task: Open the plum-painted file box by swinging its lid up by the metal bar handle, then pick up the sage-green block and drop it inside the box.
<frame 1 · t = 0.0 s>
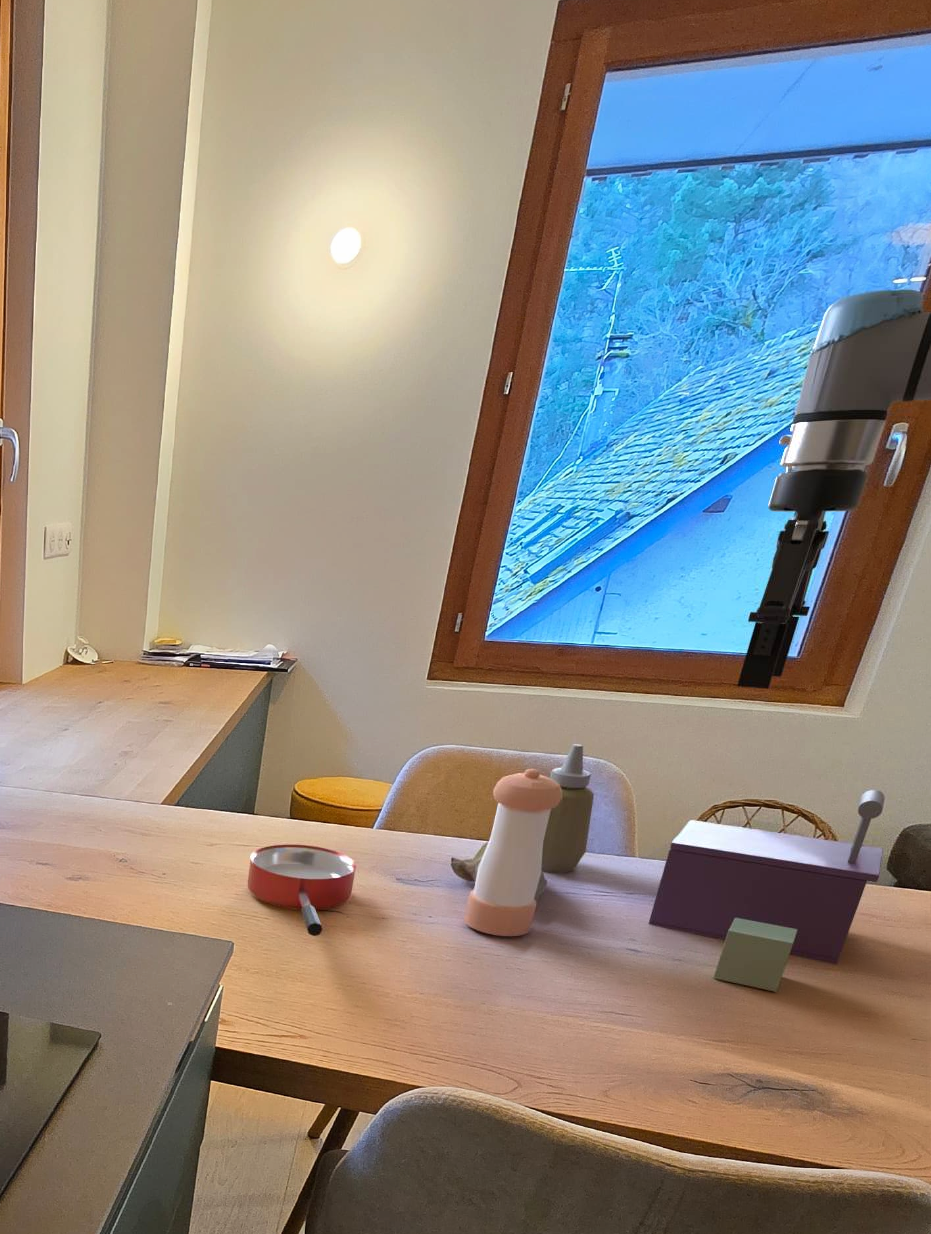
hand: (759, 681, 116), 29 cm above the table, tool pointing down, fingers open, 13 cm apart
file box: (744, 931, 126), on the table
ceramic sculpture: (498, 896, 137), on the table
frying pan: (308, 922, 129), on the table
squeeze bottle: (545, 873, 147), on the table
salt shaker: (496, 925, 127), on the table
block: (747, 977, 113), on the table
lid: (785, 819, 120), point 14 cm above the table, hinge at 0.0°
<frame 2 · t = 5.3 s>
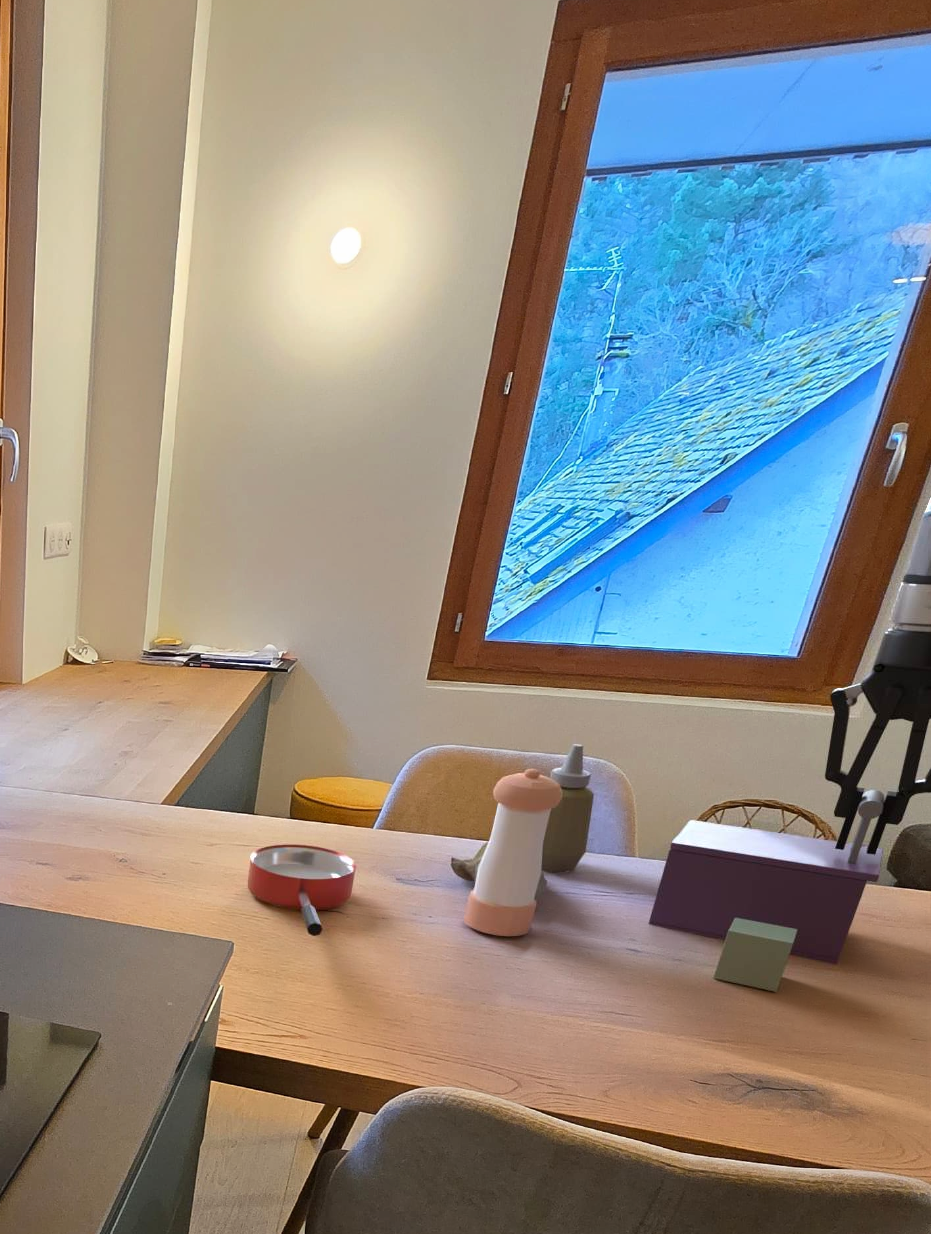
hand: (855, 848, 117), 12 cm above the table, tool pointing down, fingers closed on lid, 2 cm apart
lid: (785, 819, 120), point 14 cm above the table, hinge at 0.0°, touching gripper
everything else where it was.
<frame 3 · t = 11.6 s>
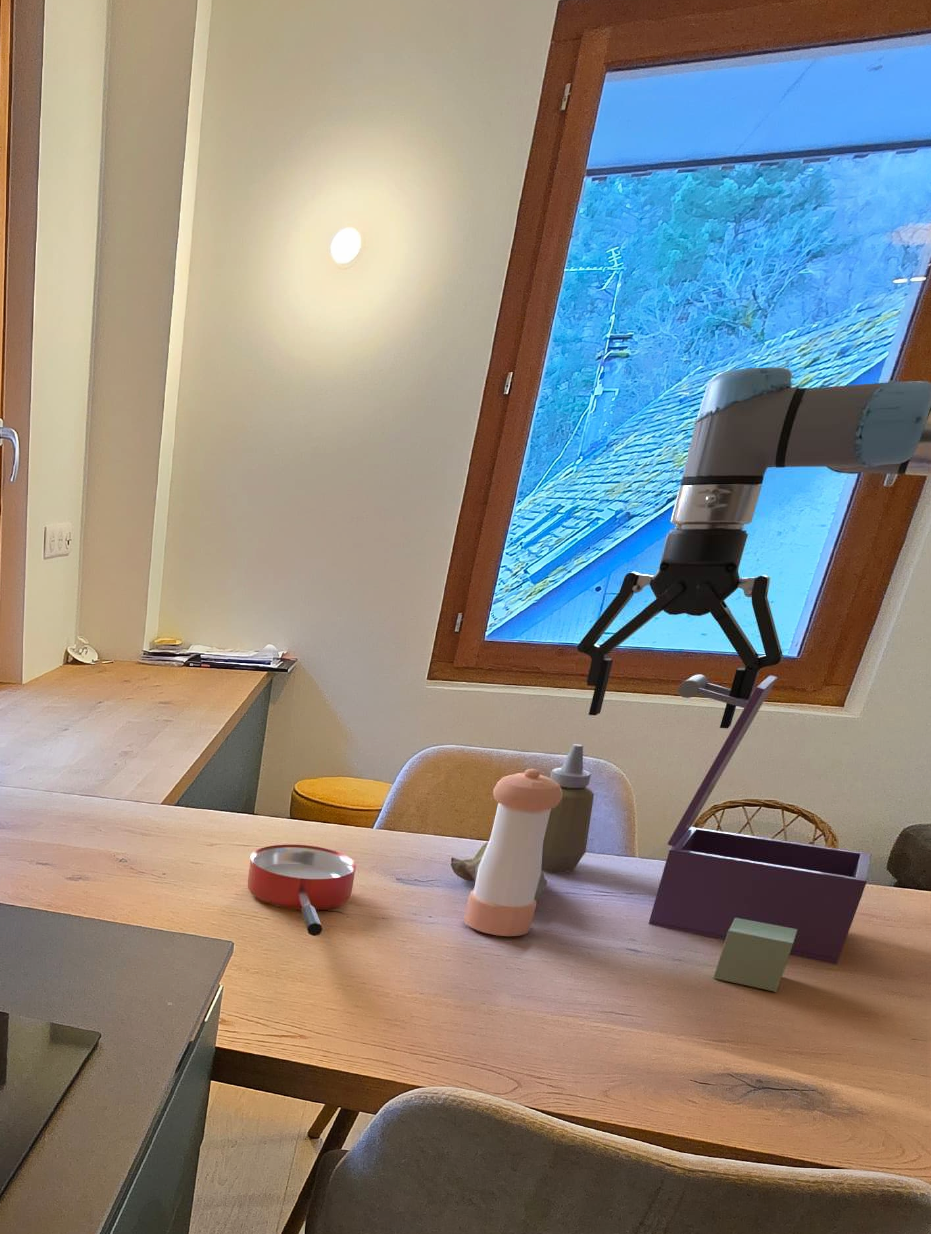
hand: (657, 720, 125), 23 cm above the table, tool pointing down, fingers open, 13 cm apart
lid: (689, 750, 124), point 20 cm above the table, hinge at 77.8°, touching gripper
everything else where it was.
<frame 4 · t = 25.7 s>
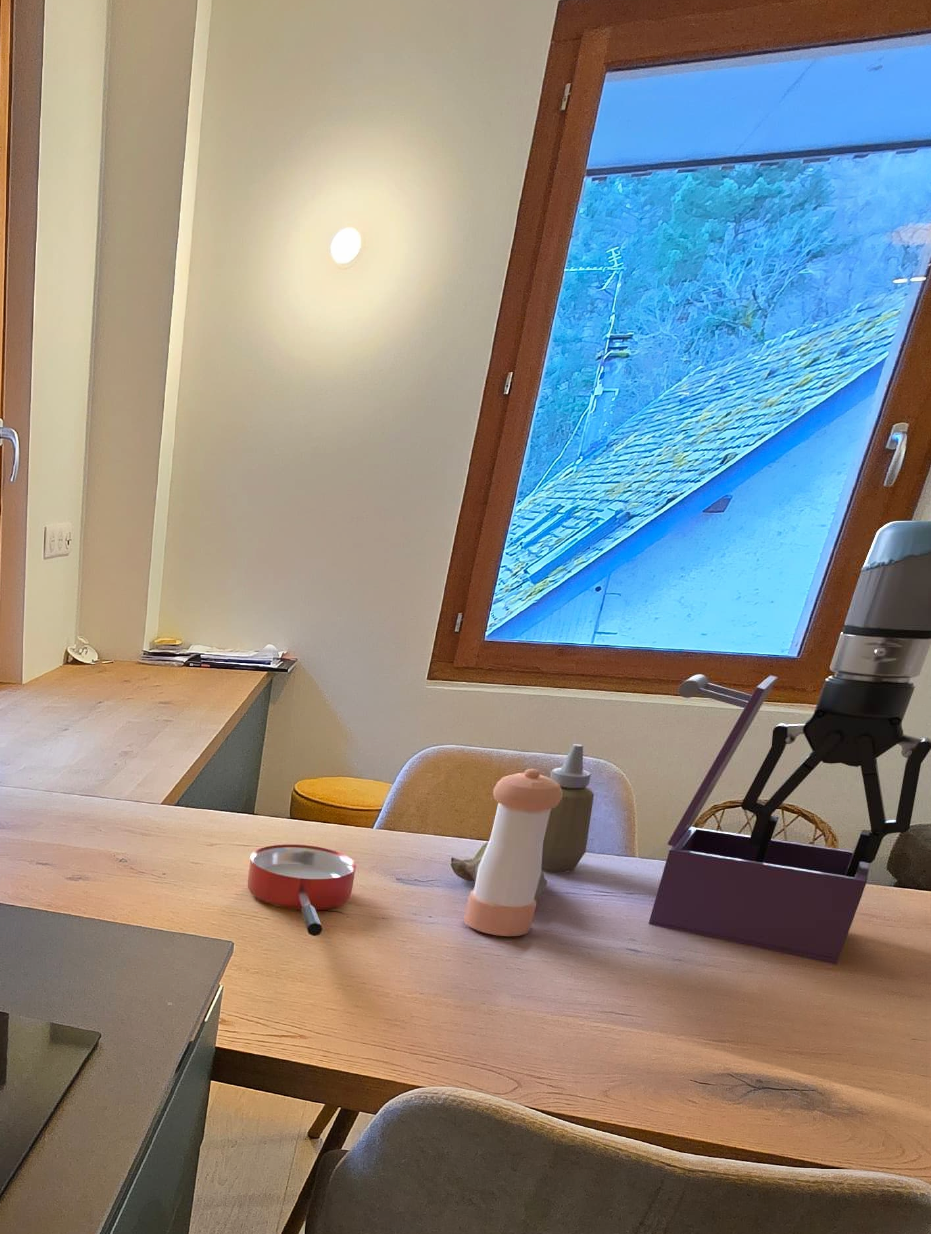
hand: (799, 879, 121), 7 cm above the table, tool pointing down, fingers open, 8 cm apart
block: (788, 931, 123), point 1 cm above the table, touching file box
lid: (689, 750, 124), point 20 cm above the table, hinge at 77.7°
everything else where it was.
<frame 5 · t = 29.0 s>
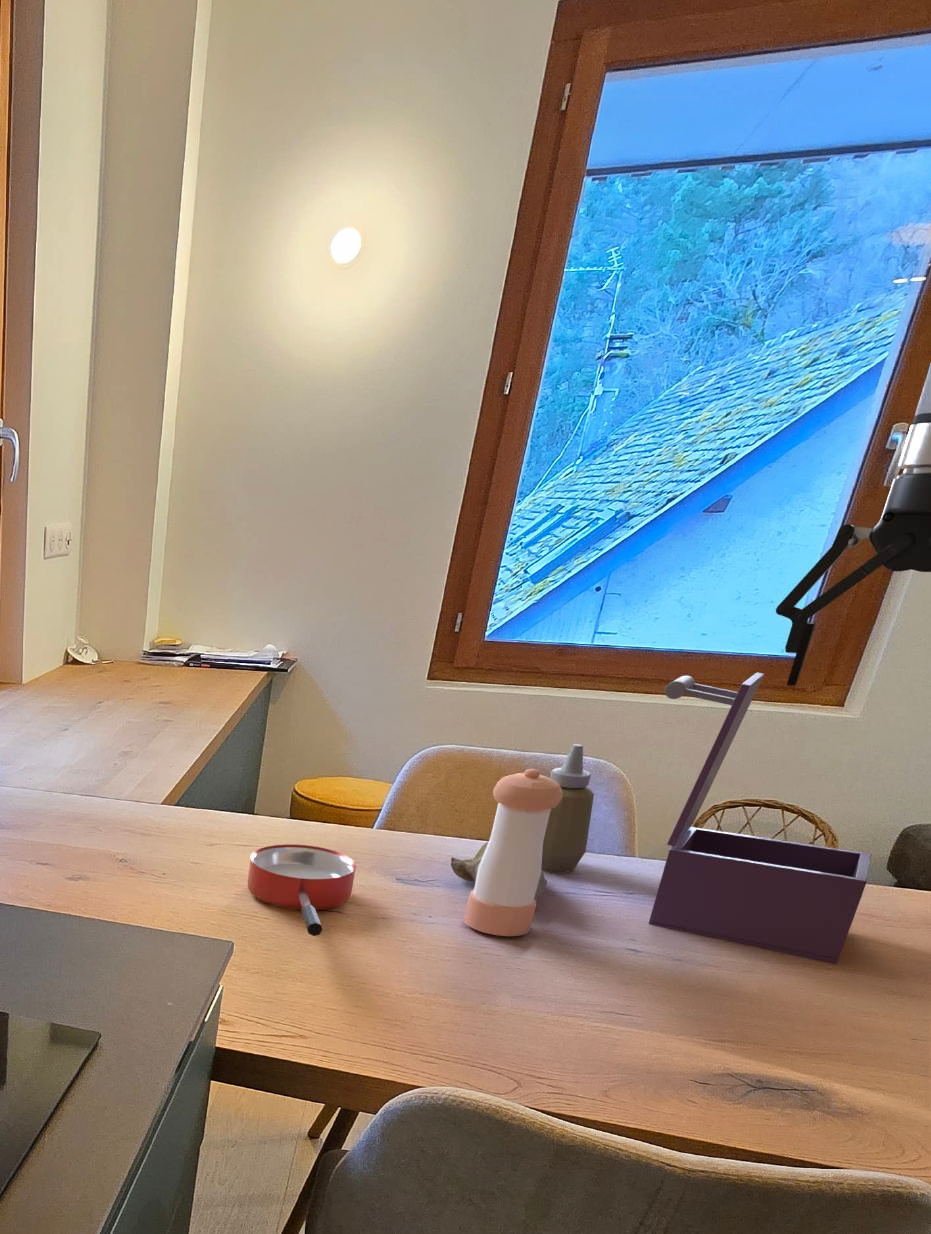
hand: (870, 690, 112), 29 cm above the table, tool pointing down, fingers open, 13 cm apart
lid: (682, 750, 125), point 20 cm above the table, hinge at 81.9°
everything else where it was.
at the end: lid at +82° (first picture: +0°); block inside the target area in the file box (4.0 cm from its centre), point 1.0 cm above the file box's base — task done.
